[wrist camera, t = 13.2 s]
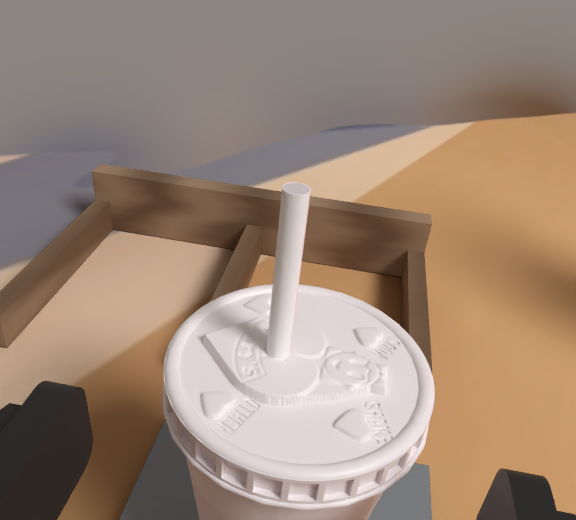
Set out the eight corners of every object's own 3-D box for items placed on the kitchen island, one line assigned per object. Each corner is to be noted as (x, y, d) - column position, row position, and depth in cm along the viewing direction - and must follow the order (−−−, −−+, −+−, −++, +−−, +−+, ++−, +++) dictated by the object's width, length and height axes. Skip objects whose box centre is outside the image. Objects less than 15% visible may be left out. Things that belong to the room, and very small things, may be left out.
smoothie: (210, 470, 21) (219, 116, 14) (375, 514, 20) (484, 161, 13) (134, 654, 16) (81, 244, 8) (353, 724, 15) (518, 336, 7)
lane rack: (-12, 343, 27) (-32, 276, 25) (106, 218, 38) (100, 163, 35) (423, 427, 25) (444, 362, 23) (416, 269, 36) (430, 214, 33)
